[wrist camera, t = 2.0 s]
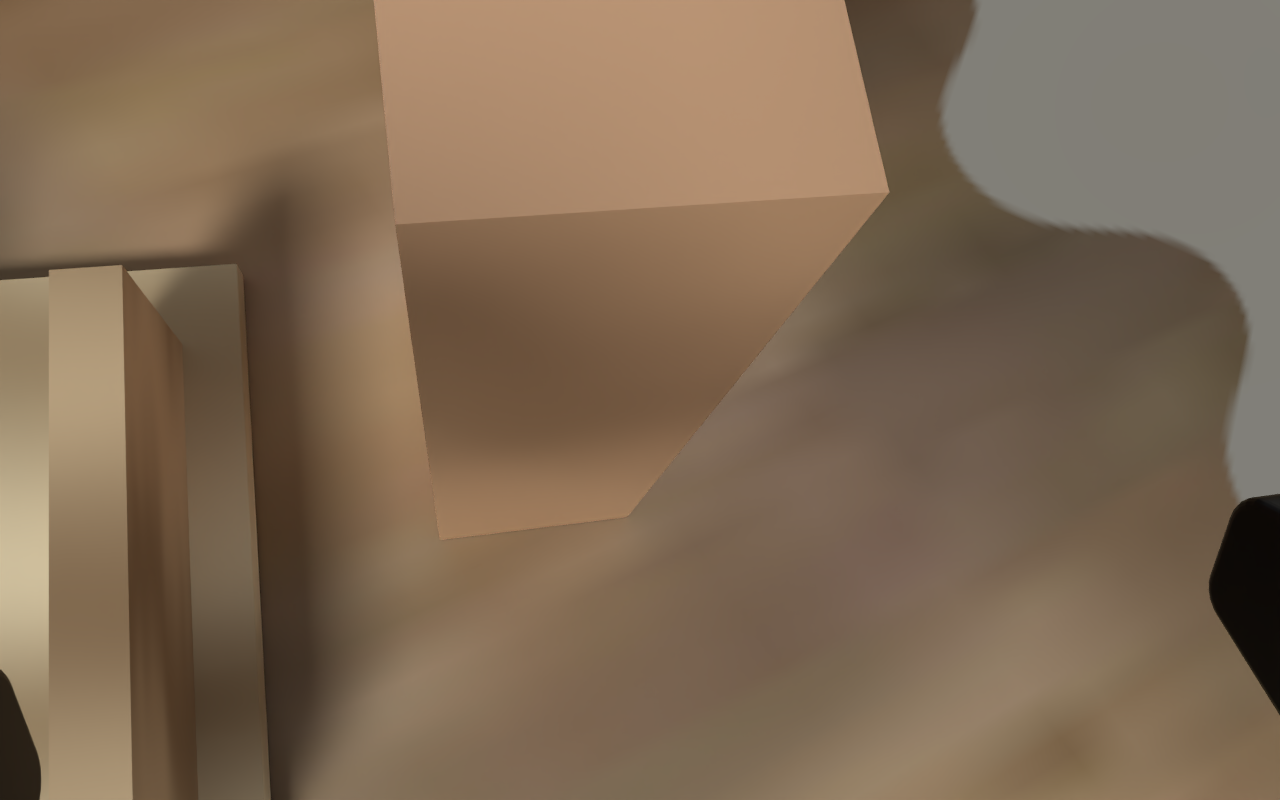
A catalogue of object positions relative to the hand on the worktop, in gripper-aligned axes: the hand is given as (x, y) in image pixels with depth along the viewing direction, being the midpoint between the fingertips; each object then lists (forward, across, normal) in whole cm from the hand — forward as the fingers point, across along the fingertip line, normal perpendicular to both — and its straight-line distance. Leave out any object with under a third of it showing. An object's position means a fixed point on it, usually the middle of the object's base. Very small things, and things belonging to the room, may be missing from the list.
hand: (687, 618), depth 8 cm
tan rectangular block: (+12, 0, +5) cm, 13 cm away
